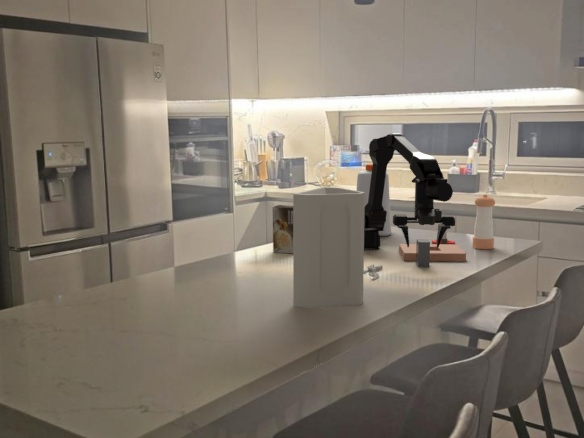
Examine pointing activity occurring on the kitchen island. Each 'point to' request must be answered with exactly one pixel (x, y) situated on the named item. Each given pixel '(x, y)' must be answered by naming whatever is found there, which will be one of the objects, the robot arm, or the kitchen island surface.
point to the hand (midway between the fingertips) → (422, 247)
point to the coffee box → (283, 229)
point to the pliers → (373, 271)
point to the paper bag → (328, 247)
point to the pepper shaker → (484, 223)
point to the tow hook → (444, 238)
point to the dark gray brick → (422, 252)
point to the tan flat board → (434, 252)
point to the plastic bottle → (364, 186)
